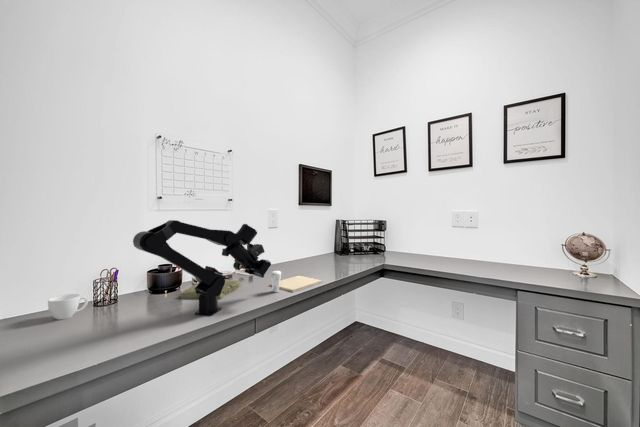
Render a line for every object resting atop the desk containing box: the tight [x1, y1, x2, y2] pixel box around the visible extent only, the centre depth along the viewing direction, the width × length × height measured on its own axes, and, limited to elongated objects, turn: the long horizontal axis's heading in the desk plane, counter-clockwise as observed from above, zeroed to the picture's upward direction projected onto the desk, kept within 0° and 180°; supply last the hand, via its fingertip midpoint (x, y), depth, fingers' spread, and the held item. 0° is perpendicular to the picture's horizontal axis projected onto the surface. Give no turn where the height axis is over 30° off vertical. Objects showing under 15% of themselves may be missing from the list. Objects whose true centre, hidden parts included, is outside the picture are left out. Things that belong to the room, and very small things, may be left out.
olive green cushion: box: [180, 279, 242, 300], centre depth 119 cm, size 19×20×4 cm
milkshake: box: [270, 267, 282, 293], centre depth 119 cm, size 4×5×10 cm
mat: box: [269, 275, 323, 293], centre depth 130 cm, size 20×16×1 cm
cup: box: [47, 293, 89, 321], centre depth 92 cm, size 8×10×7 cm
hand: (263, 276), depth 114 cm, fingers closed
